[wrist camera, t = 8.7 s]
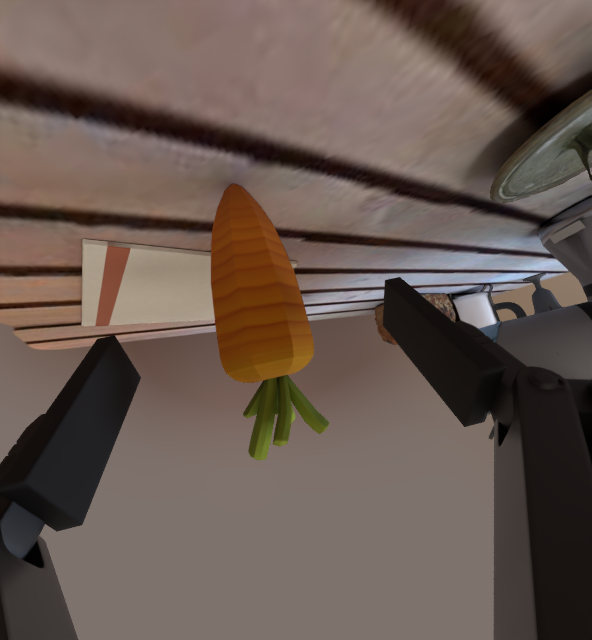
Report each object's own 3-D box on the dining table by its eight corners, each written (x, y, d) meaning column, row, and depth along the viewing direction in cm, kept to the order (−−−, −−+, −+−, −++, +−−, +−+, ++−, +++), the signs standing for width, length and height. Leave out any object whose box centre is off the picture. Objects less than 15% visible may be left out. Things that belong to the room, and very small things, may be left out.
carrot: (290, 165, 16) (359, 440, 13) (254, 215, 20) (300, 434, 17) (202, 138, 13) (265, 484, 10) (180, 204, 17) (221, 465, 14)
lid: (454, 131, 18) (461, 209, 18) (746, -40, 10) (752, 108, 10) (518, 161, 24) (523, 220, 24) (736, 70, 15) (740, 162, 16)
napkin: (82, 238, 18) (82, 244, 18) (297, 261, 29) (298, 264, 29) (81, 323, 33) (81, 326, 33) (223, 316, 44) (224, 319, 44)
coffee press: (448, 302, 86) (481, 400, 80) (421, 303, 76) (457, 414, 71) (513, 280, 73) (559, 395, 67) (491, 278, 63) (542, 413, 57)
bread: (370, 307, 65) (381, 349, 63) (410, 291, 57) (425, 338, 55) (411, 306, 77) (422, 341, 75) (450, 292, 69) (463, 331, 67)
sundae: (555, 269, 70) (579, 326, 67) (543, 275, 76) (565, 328, 73) (524, 277, 72) (546, 333, 69) (515, 283, 78) (535, 334, 76)
